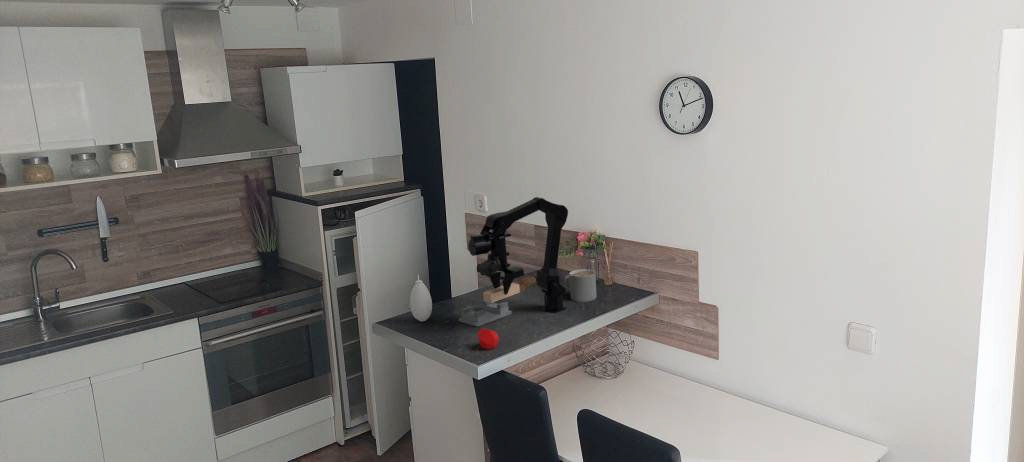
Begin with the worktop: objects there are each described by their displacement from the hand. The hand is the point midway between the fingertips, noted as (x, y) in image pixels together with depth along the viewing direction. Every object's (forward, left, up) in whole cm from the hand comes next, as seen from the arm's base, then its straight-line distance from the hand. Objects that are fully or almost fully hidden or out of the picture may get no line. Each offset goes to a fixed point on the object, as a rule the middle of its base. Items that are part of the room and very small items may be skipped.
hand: (501, 293), depth 260 cm
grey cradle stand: (+10, 0, -11) cm, 15 cm away
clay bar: (0, 0, -1) cm, 1 cm away
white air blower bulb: (+27, +16, -11) cm, 33 cm away
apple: (-13, +19, -11) cm, 25 cm away
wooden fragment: (+29, -37, -12) cm, 49 cm away
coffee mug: (-3, -38, -11) cm, 40 cm away
